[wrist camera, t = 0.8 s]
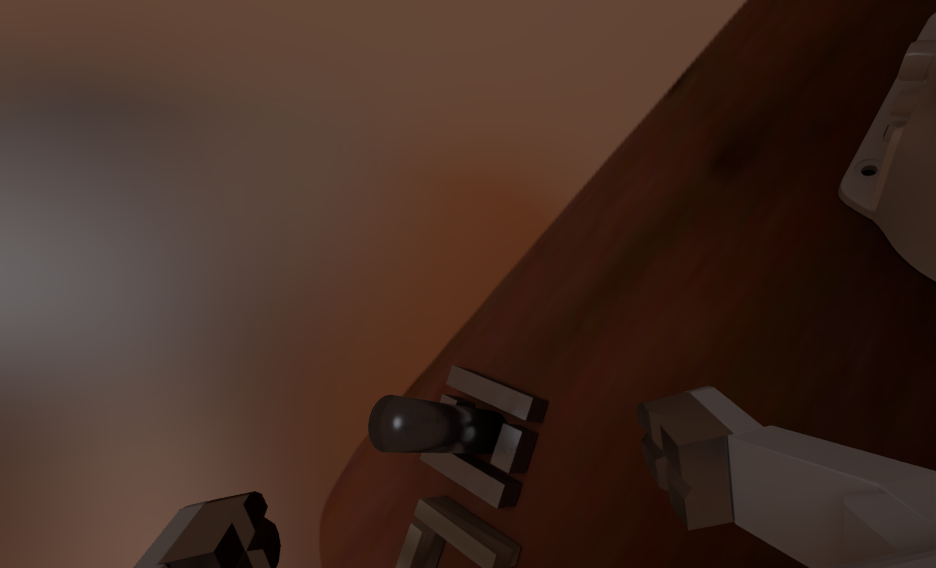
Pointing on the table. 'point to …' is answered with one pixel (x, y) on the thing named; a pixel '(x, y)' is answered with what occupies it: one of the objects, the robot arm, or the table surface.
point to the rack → (453, 537)
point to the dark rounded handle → (432, 427)
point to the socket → (510, 445)
